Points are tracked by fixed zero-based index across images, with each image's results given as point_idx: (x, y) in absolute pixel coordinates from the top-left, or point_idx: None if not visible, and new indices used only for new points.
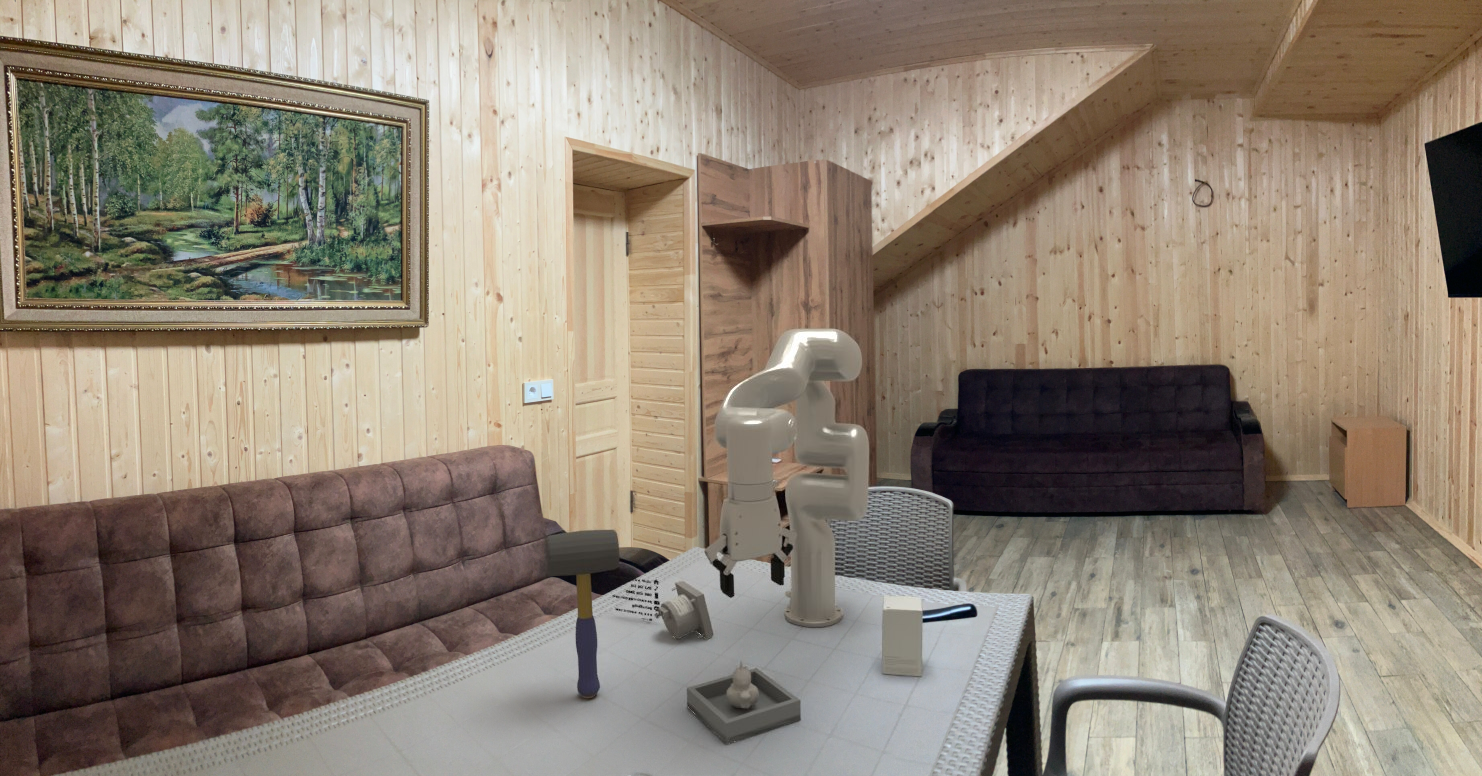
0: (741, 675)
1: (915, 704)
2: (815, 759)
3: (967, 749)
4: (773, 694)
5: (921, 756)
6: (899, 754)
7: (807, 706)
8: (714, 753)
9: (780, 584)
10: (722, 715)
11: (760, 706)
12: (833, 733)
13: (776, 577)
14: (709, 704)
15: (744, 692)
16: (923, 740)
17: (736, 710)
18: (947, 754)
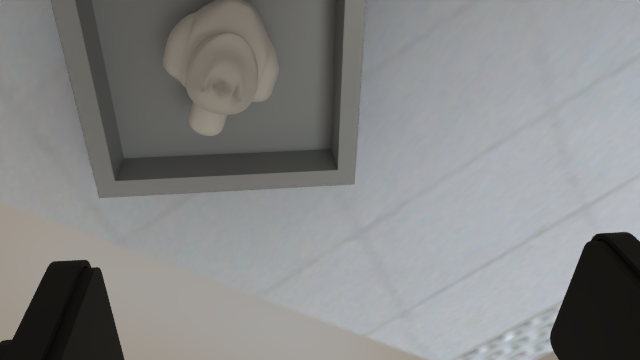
0: (208, 109)
1: (600, 215)
2: (275, 287)
3: (520, 354)
4: (336, 59)
5: (445, 344)
6: (420, 328)
7: (404, 105)
8: (67, 184)
9: (557, 342)
10: (103, 156)
11: None
12: (370, 231)
13: (590, 345)
14: (82, 77)
15: (204, 123)
16: (490, 313)
17: None
18: (483, 353)
